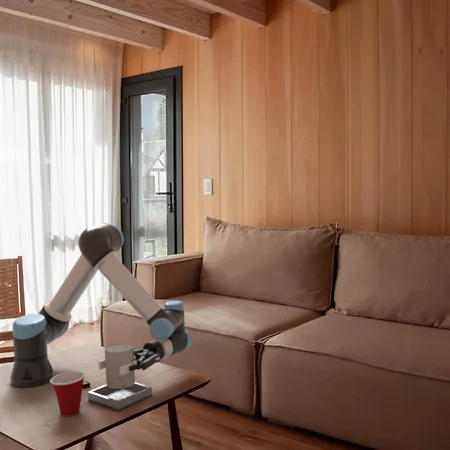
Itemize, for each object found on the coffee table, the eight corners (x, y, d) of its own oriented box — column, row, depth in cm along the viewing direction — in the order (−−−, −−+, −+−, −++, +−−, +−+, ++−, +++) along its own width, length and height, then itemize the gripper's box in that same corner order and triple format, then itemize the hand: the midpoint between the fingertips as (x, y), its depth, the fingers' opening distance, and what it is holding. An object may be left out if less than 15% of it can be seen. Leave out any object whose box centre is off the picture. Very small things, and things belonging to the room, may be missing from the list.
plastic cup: (56, 405, 187) (55, 370, 186) (90, 404, 187) (88, 369, 186) (47, 420, 176) (45, 383, 175) (82, 419, 177) (80, 381, 175)
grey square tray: (88, 400, 191) (87, 391, 191) (121, 386, 203) (121, 378, 202) (118, 411, 182) (118, 402, 181) (152, 395, 194) (151, 387, 193)
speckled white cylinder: (129, 389, 186) (127, 352, 185) (101, 388, 188) (99, 351, 187) (139, 378, 195) (137, 343, 194) (113, 377, 197) (111, 342, 196)
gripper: (180, 365, 199) (133, 386, 181) (136, 354, 212) (88, 372, 195) (179, 344, 198) (132, 363, 180) (135, 335, 212) (87, 351, 194)
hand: (109, 368), depth 188 cm, fingers closed on speckled white cylinder, 9 cm apart
